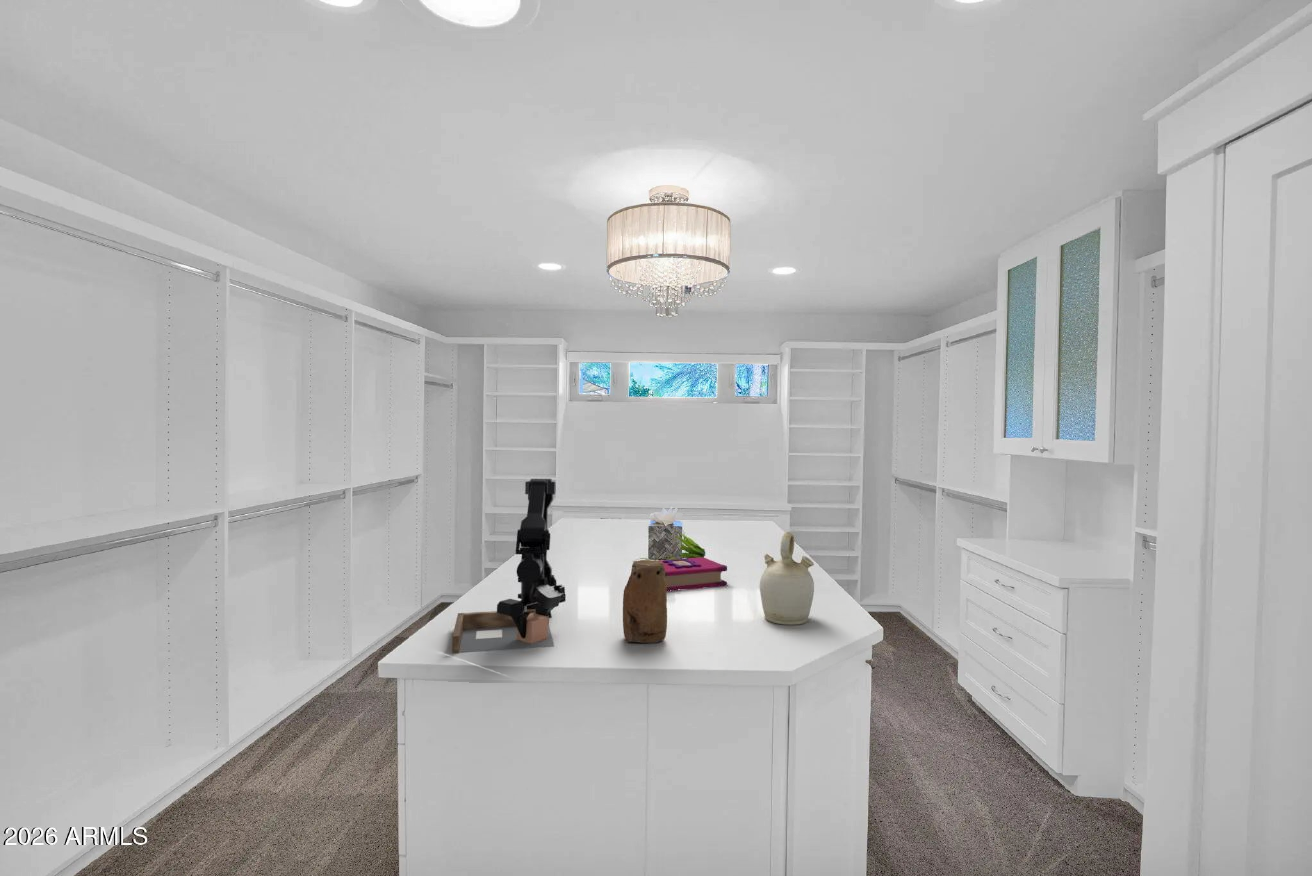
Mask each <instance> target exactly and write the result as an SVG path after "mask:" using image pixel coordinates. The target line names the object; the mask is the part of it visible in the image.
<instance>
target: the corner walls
mask: <svg viewBox="0 0 1312 876" xmlns="http://www.w3.org/2000/svg"><path fill="white" fill-rule="evenodd" d="M526 612H528V613H530V614H531V613H535V614H536V611H535V609H528V610H526ZM455 620H456V621H455V624H454V628H453V631H452V637H451V641H452V643H451V645H452V646H451V647H452V648H451V650H452V654H460V653H459V649H460V644H461V639H462V634H463V630H464V629H480V628H497V627H513V626H516V625H515V623H514V621H513V619H512V617H511V616H508V615H504V614H500V613H497V610H496V611H495V610H493V611H492V610H491V611H476V612H460V613H459V612H458V613H457V617H456V619H455ZM548 624H549V625H550V618H549V616H548Z"/></svg>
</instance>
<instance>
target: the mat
mask: <svg viewBox="0 0 1312 876" xmlns="http://www.w3.org/2000/svg"><path fill="white" fill-rule="evenodd" d="M550 647H555V644H554V639H553V637H552V631H551V627H550V623H549V624H548V638H547V639H544V640H541V641H538V642H535V643H532V644H531V643H528V642H524V641H521V640H517V627H516V626H513V627H497V628H480V629H464V630H463V634H462V639H461V644H460V649H459V653H458V654H461V653H462V654H463V653H475V652H477V653H479V652H480V653H481V652H492V651H494V652H495V651H507V650H519V649H520V650H521V649H538V648H550Z"/></svg>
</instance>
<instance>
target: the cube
mask: <svg viewBox="0 0 1312 876" xmlns="http://www.w3.org/2000/svg"><path fill="white" fill-rule="evenodd" d="M547 638H548V617H547V616H543V615H539V614H535V613H531V614H529V616H528V617H527V623H526V637H525V638H522V637H521V635H520V633H519V631H518V629H517V640H521V641H524V642H528V643H531V644H532V643H535V642H538V641H541V640H544V639H547Z"/></svg>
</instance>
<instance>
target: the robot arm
mask: <svg viewBox="0 0 1312 876" xmlns="http://www.w3.org/2000/svg"><path fill="white" fill-rule="evenodd" d="M556 485H557V484H556V482H555V481H553V480H552V478H530V480H529V481H525V482H524V488H525V489H524V495H527V500H528V504H527V505H528V506H527V513H526V517H524V518H523V519H522V520H521V521H520V528H519V529H517V534H516V544H515V555H521V556H520V557H521V560H520V562H519V564H518V565H517V567H516V576H517V583H520V588H521V589H520V593H517V599H520V600H517V599H513V598H507V599H504V600H500V601H498V603H497V605H496V611H497V613H500V614H504V615H508V616H511V617H512V619H513V621H514V623H515V625H516V627H517V629H518V631H519V633H520V635H521V637H522V638H525V637H526V623H527V617H528V616H529V614H530V613H528V612H526V610H528V609H535V611H536V614H539V615H543V616H547V617H548V616H549V619H551V618H552V610H554V609H555V608H557V607H559V606H560V604H561V603H565V602H566V600H567V599H566V596H567V595H566V587H565V585H563V584H557V579H556V578H555V575H554V574H553V568H552V566H551V565H550V563H549V561H548V551H550V549H551V532H550V531H549V529H548V519H549V518H548V516H549V513H548V512H549V510H548V509H549V508H550V506H551V505H552V503H553V501H554V495H556V493H557V492H556V491H557V490H556V489H557V486H556Z"/></svg>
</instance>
